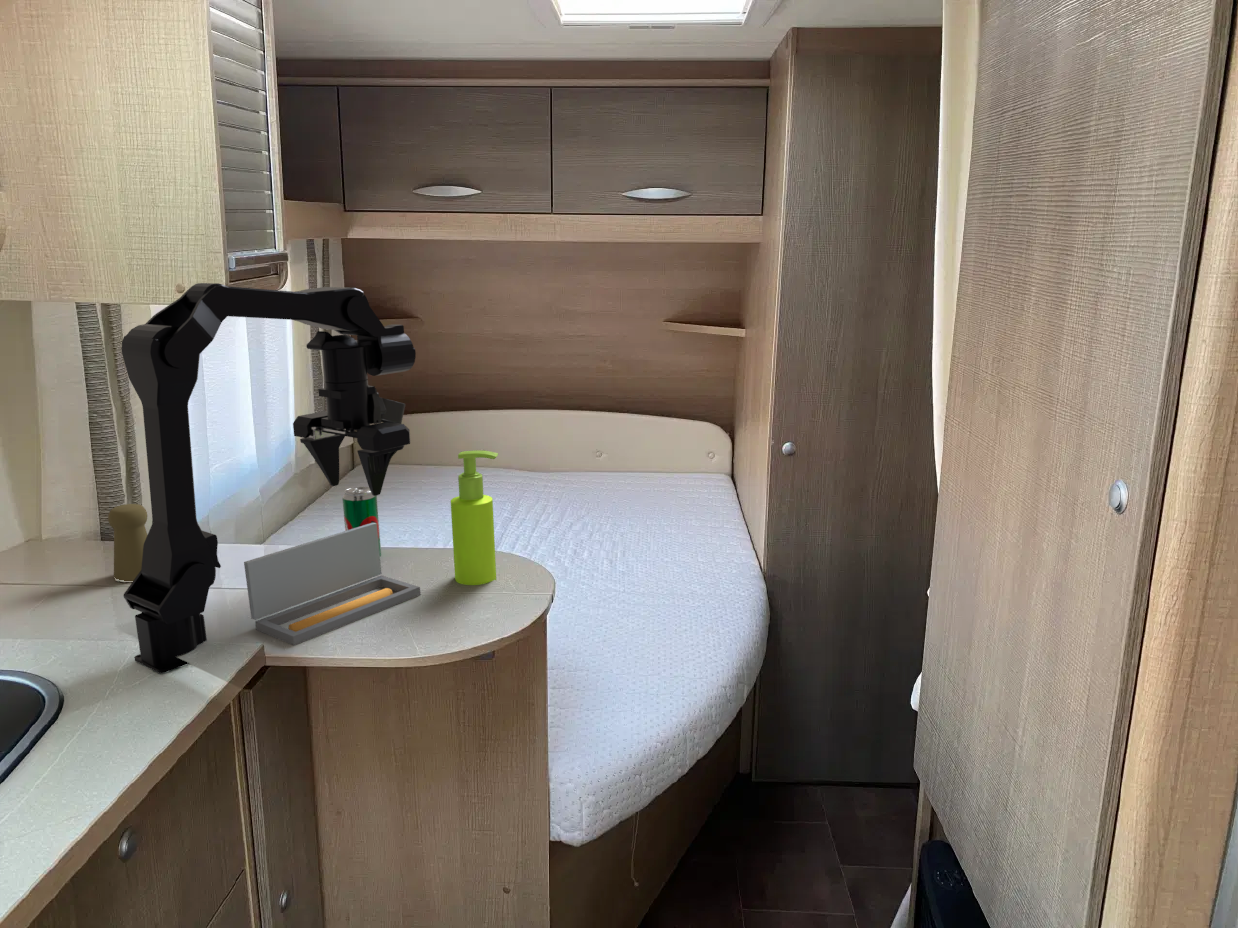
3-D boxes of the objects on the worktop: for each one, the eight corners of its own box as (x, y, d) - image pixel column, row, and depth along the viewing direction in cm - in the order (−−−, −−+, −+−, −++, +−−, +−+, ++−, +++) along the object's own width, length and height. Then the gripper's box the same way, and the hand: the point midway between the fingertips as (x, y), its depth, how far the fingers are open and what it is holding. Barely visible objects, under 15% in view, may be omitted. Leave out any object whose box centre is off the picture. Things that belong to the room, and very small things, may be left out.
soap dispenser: (500, 594, 132) (493, 456, 127) (451, 594, 132) (443, 456, 127) (506, 579, 137) (500, 447, 133) (460, 579, 138) (452, 447, 133)
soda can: (386, 559, 147) (380, 485, 144) (375, 570, 142) (369, 494, 139) (355, 558, 147) (349, 485, 144) (343, 569, 142) (336, 494, 139)
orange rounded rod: (296, 637, 117) (295, 625, 116) (289, 634, 118) (288, 622, 117) (395, 598, 129) (394, 587, 128) (388, 596, 130) (387, 585, 129)
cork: (114, 585, 137) (103, 513, 135) (113, 573, 142) (102, 503, 140) (159, 577, 140) (150, 507, 137) (157, 566, 145) (147, 498, 143)
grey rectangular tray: (295, 655, 113) (293, 636, 112) (257, 639, 118) (255, 621, 117) (421, 603, 128) (419, 586, 128) (383, 591, 133) (381, 575, 133)
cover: (247, 562, 115) (243, 562, 116) (255, 619, 117) (251, 618, 117) (376, 523, 131) (372, 522, 131) (381, 573, 132) (378, 573, 133)
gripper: (437, 378, 128) (443, 487, 132) (351, 368, 139) (359, 469, 143) (371, 389, 120) (380, 505, 123) (286, 377, 131) (296, 485, 134)
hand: (355, 490), depth 131 cm, fingers open, 9 cm apart
